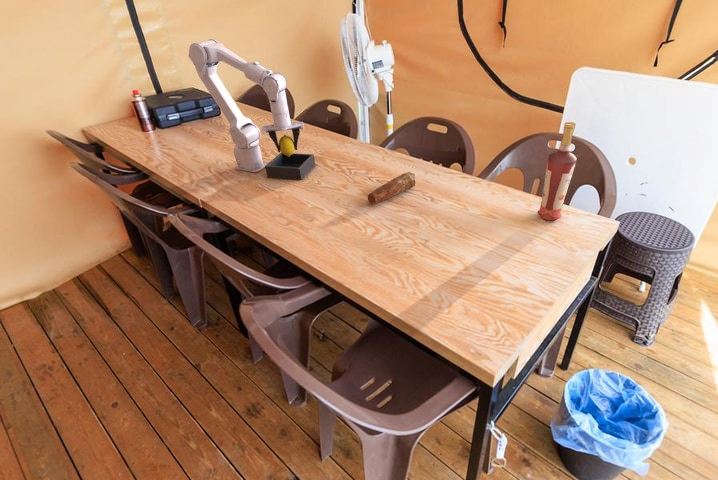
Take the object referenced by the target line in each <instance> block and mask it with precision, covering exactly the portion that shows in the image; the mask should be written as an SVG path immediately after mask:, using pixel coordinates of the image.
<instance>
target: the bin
mask: <svg viewBox="0 0 718 480" xmlns="http://www.w3.org/2000/svg"><path fill="white" fill-rule="evenodd" d="M315 166H316V160H315V155H314V153H313V154H311V153H310V154H309V153H299V152H298V153H297V152H296V153H295V152H294V153H293V154H292V155H290V156H289V157H288V156H287V155H284V154H283V153H282V152H281V151H280V152H279V153H278V154H277V155H276V156H275V157H273V159H272V160H271V161H269V162H268V164H267V165H266V166H265V167H264V169H265V173H266V178H269V179H282V180H295V181H296V180H297V181H302V180H303V179H304V178H305V177H306V176H307V175H308V174H310V172H311V171H312V170H313V169H314V167H315Z"/></svg>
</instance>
